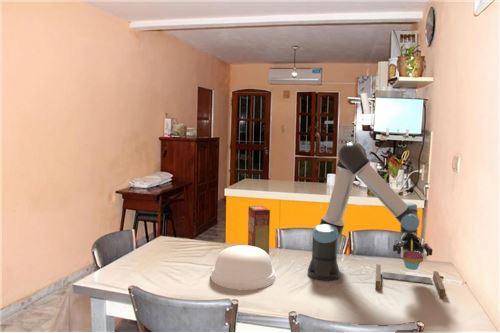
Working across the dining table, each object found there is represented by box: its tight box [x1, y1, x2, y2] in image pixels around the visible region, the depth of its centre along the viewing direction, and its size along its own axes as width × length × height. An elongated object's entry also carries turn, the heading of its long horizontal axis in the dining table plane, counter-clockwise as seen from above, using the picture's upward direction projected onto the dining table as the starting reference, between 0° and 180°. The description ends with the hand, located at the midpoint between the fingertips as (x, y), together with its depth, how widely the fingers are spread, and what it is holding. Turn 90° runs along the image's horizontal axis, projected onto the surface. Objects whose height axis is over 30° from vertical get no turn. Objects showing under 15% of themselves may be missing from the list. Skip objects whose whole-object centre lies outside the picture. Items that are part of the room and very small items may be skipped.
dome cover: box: [210, 244, 276, 291], centre depth 195 cm, size 32×30×14 cm
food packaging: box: [247, 205, 271, 255], centre depth 236 cm, size 13×9×25 cm
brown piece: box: [374, 264, 446, 300], centre depth 192 cm, size 28×24×4 cm
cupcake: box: [401, 239, 424, 271], centre depth 174 cm, size 9×8×12 cm
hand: (413, 255), depth 169 cm, fingers closed on cupcake, 8 cm apart
